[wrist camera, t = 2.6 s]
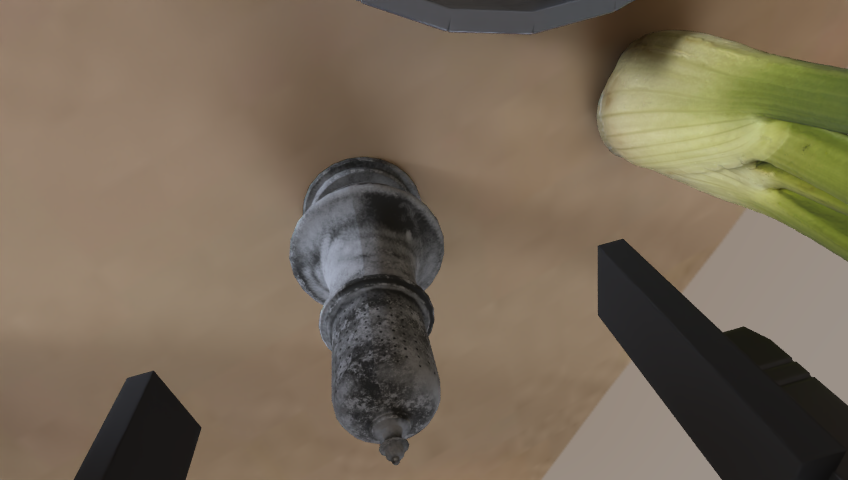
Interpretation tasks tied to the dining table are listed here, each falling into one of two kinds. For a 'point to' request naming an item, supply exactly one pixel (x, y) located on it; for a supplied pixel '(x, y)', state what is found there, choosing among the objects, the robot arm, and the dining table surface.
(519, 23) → the pan
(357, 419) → the salt shaker
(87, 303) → the dining table surface
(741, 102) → the fennel bulb
